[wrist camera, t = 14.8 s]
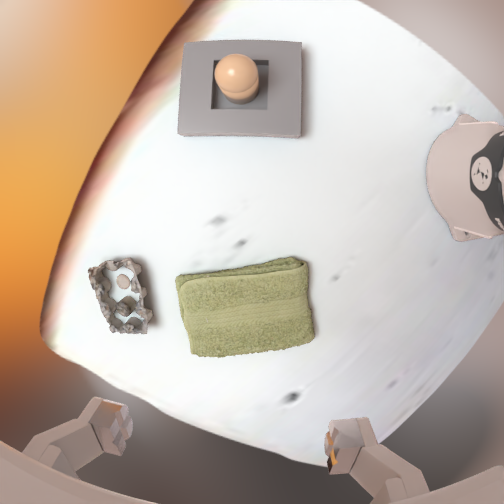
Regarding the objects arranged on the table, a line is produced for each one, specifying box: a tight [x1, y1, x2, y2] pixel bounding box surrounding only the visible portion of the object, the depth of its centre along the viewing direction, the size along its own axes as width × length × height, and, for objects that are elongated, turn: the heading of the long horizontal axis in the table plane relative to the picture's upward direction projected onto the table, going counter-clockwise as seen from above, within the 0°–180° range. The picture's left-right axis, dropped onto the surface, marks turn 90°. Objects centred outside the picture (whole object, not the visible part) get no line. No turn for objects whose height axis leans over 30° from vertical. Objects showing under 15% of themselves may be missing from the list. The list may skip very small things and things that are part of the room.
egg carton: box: [88, 258, 153, 334], centre depth 39 cm, size 11×8×4 cm
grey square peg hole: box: [178, 40, 302, 138], centre depth 32 cm, size 14×12×3 cm
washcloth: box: [175, 257, 315, 358], centre depth 40 cm, size 13×18×3 cm
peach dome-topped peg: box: [214, 54, 259, 105], centre depth 29 cm, size 4×4×8 cm
